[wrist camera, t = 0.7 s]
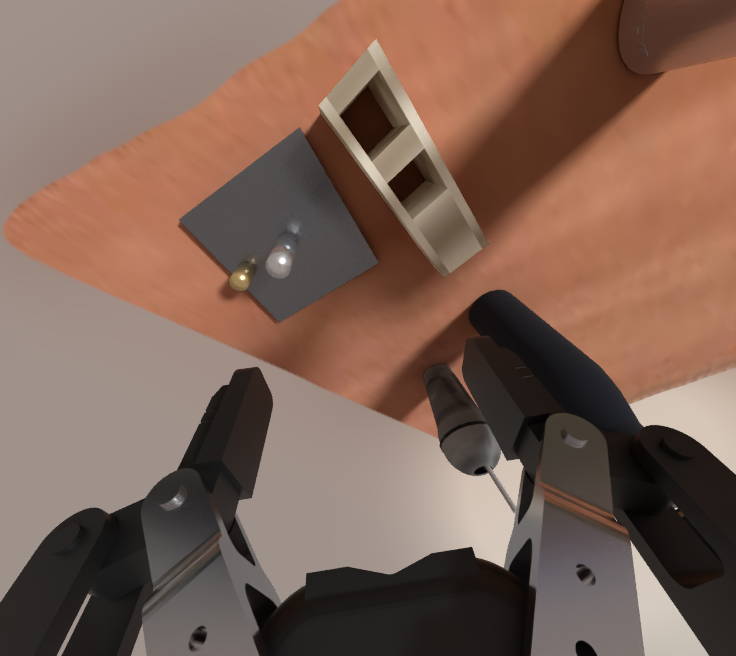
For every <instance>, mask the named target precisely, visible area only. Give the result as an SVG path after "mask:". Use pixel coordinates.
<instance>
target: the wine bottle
mask: <svg viewBox="0 0 736 656" xmlns="http://www.w3.org/2000/svg"><path fill="white" fill-rule="evenodd" d="M469 319H470V322H471V324H472V325H473V327H474V328H475V329H476V330H477V332H478V333H479V334H480V335H481V336H490V337H491V338H492V339H493V341H494V342H495V343H496V345H497V346H498V347H499V348H500V347H506V348H507V349H509V350H510V351H512V352H513V353H515V354H517V355H518V356H519V357H520V359H521V360H522V361H523V362H524V363H525V365H526V367H527V368H529V369H530V371H531V372H532V373H533V374H534V377H536V378H537V379H538V380H539V381H540V382H541V384H542V385H543V386H544V387H545V388H546V389H547V391H548V392H549V393H550V394H551V395H552V397H553V398H554V399H555V400H556V401H557V403H558V404H559V405H560V406H561V407H562V408H563V410H564V411H565V412H566V413H567V414H572V415H576V416H578V417H581V418H583V419H585V420H587V421H588V422H590V423H591V424H593V425H594V426H595V427H596V428H597V429H598V430H601V431H606V432H613V433H620V434H628V435H635V436H636V435H637V434H638V433H639V432H640V431H641V429H643V428H644V427H643V426H642V425H641V424H640V423H639V421H638V419H637V418H636V416H635V414H634V413H633V411H632V409H631V408H630V406H629V404H628V403H627V401H626V399H625V398H624V396H623V395H622V393H621V391H620V390H619V389H618V387H617V386H616V385H615V384H614V382H613V381H612V380H611V379H610V377H609V376H608V375H607V374H606V373H605V372H604V371H603V369H602V368H601V367H600V366H599V365H598V364H597V363H595V362H594V361H593V360H592V359H590V358H589V357H588V356H587V355H586V354H584V353H583V352H582V351H581V350H579V349H578V348H577V347H576V346H574V345H573V344H572V343H571V342H570V341H568V340H567V339H566V338H565V337H563V336H562V335H561V334H560V333H559V332H557V331H556V330H555V329H554V328H552V327H551V326H550V325H549V324H547V323H546V322H545V321H544V320H543V319H541V318H540V317H539V316H538V315H536V314H535V313H534V312H533V311H531V310H530V309H529V308H528V307H527V306H525V305H524V304H523V303H522V302H520V301H519V300H518V299H517V298H516V297H514V296H513V295H512V294H511V293H509V292H507V291H505V290H495V291H490V292H488V293H486V294H484V295H483V296H481V297H480V298H479V299H478V300H477V301H476V302H475V303H474V304H473V306H472V308H471V310H470V315H469ZM672 507H673V508H677V507H676V505H675V504H674V505H672ZM676 511H677V512H678V513H679V515H680V516H681V517H682V518H683V519H684V520H685V522H686V523H687V524H688V525H689V526H690V527H691V529H692V530H693V531H694V532H695V533H696V534H697V536H698V537H699V538H700V539H701V540H702V541H703V543H704V544H705V545H706V546H707V547H708V548H709V550H710V551H711V552H712V553H713V554H714V555H715V557H716V558H717V559H718V560H719V561H720V562H721V564H722V565H723V563H722V561H721V559H720V557H719V556H718V554H717V553H716V552H715V550H714V549H713V548H712V547H711V546H710V544H709V543H708V542H707V541H706V540H705V539H704V538H703V536H702V535H701V534H700V533H699V532H698V531H697V530H696V528H695V527H694V526H693V525H692V524H691V523H690V521H689V520H688V519H687V518H686V517H685V516H684V515H683V513H682V512H681V511H680V510H679V509H677V510H676Z"/></svg>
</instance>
